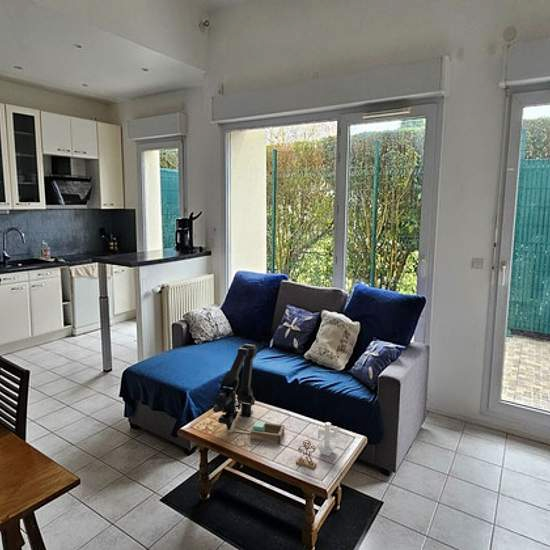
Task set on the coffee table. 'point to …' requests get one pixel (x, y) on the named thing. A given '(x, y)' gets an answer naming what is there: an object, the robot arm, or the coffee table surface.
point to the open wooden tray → (269, 436)
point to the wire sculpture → (306, 462)
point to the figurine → (327, 439)
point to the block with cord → (256, 427)
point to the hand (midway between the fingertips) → (229, 428)
